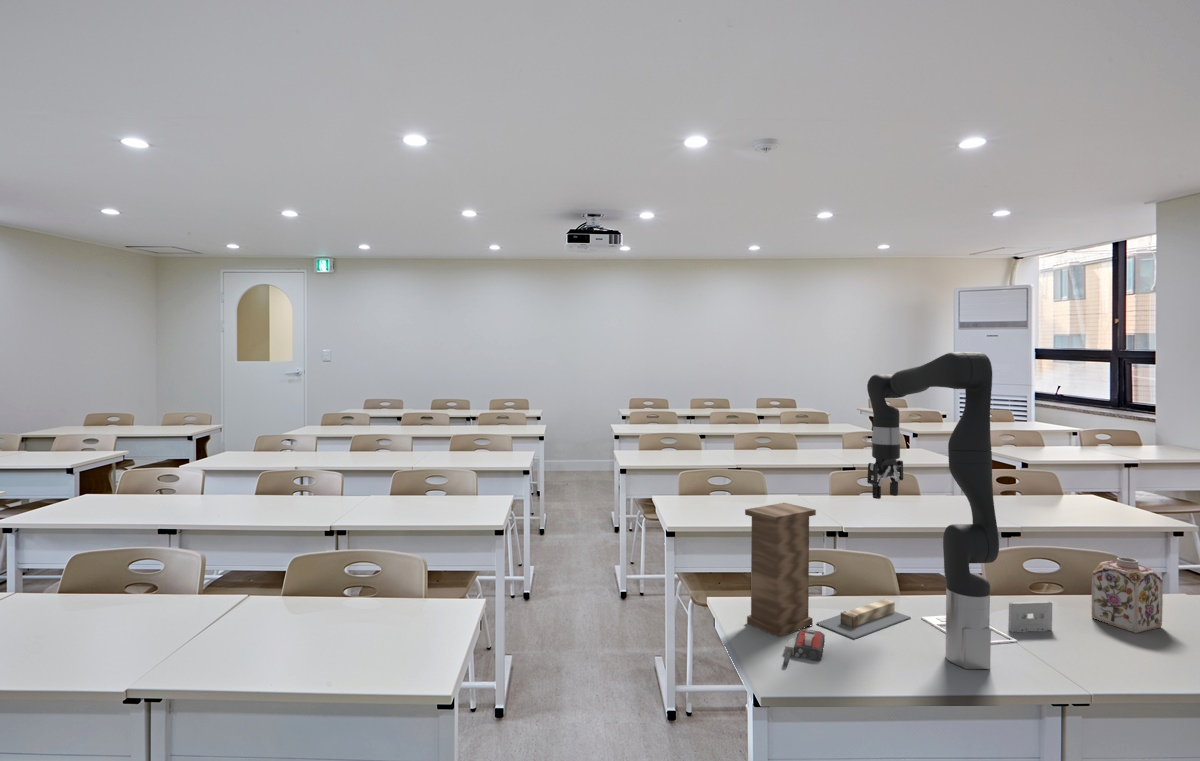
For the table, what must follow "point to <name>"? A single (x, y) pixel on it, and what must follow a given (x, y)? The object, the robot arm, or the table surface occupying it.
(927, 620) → the photo frame
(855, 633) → the mat
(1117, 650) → the table surface
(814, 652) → the walkie-talkie
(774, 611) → the stand
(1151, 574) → the decorative jar
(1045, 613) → the cassette
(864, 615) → the wooden bar
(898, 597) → the table surface
